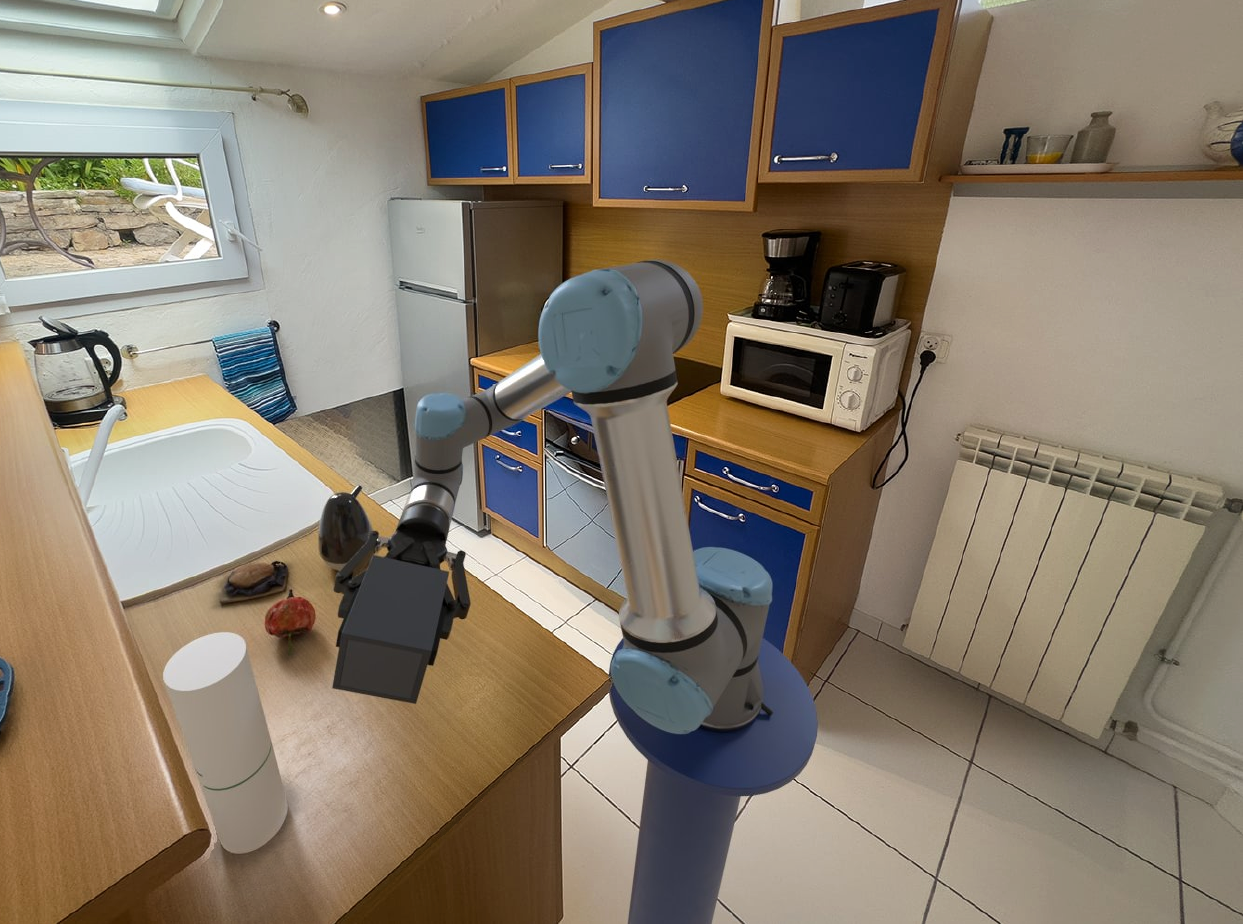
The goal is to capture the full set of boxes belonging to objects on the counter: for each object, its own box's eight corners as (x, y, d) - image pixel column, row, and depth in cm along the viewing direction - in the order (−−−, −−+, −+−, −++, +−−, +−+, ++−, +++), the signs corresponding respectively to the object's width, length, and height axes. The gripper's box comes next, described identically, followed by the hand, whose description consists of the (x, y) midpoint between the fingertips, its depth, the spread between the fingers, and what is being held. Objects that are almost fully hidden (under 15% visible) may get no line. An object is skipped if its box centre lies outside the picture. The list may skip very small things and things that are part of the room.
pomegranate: (320, 654, 89) (326, 590, 94) (300, 650, 83) (308, 582, 88) (274, 659, 89) (283, 595, 94) (250, 655, 83) (261, 586, 88)
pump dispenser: (389, 553, 109) (381, 487, 104) (351, 586, 101) (340, 515, 95) (349, 539, 113) (339, 474, 107) (310, 570, 105) (296, 501, 99)
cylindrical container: (266, 776, 69) (224, 622, 59) (300, 811, 65) (260, 653, 56) (207, 827, 64) (149, 666, 54) (239, 869, 60) (184, 704, 50)
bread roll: (218, 607, 95) (213, 591, 94) (226, 576, 103) (222, 560, 101) (285, 593, 99) (281, 577, 97) (288, 564, 106) (285, 548, 105)
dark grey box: (434, 622, 77) (449, 571, 72) (415, 704, 66) (431, 651, 62) (362, 607, 76) (373, 554, 71) (331, 688, 65) (341, 633, 60)
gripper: (491, 556, 87) (474, 687, 67) (347, 523, 84) (285, 650, 64) (503, 520, 83) (488, 647, 64) (353, 485, 81) (290, 607, 61)
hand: (386, 649), depth 64 cm, fingers closed on dark grey box, 10 cm apart
